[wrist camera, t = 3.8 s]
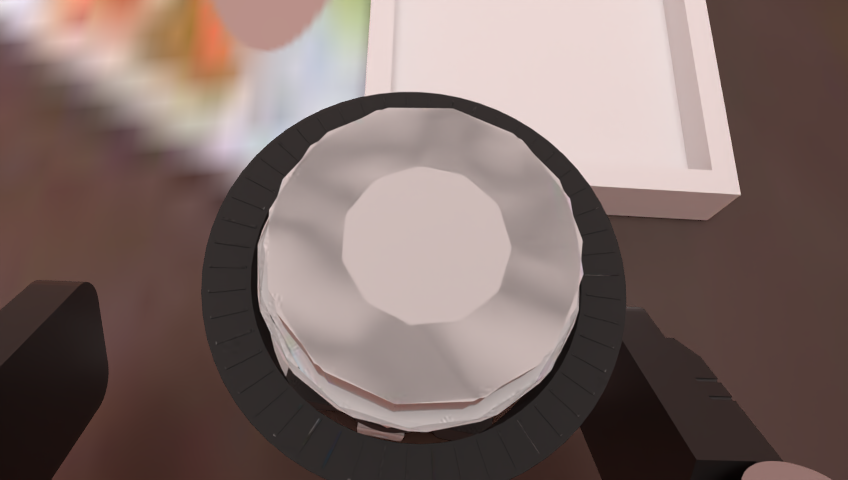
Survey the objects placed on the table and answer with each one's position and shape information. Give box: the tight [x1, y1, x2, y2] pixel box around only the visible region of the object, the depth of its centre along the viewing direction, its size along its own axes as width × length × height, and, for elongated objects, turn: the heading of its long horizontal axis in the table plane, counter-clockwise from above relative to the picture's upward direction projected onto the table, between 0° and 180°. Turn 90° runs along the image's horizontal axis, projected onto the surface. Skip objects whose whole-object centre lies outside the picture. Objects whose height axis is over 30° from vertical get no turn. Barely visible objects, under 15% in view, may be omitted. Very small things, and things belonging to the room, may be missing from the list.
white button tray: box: [365, 0, 741, 220], centre depth 20 cm, size 10×12×2 cm
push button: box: [201, 92, 626, 480], centre depth 12 cm, size 7×5×10 cm
